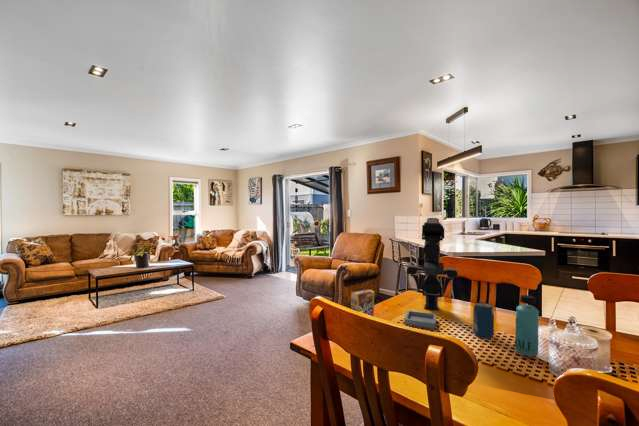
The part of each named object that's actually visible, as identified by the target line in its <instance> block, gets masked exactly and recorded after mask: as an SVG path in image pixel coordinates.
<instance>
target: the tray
mask: <svg viewBox="0 0 639 426" xmlns="http://www.w3.org/2000/svg"><path fill="white" fill-rule="evenodd" d="M436 315H437V314H436V313H431V312H424V311H416V310H415V311H414V310H408V309H407V310H406V314H405V316H404V320H403V321H404V324H403V325H404V326H408V327H415V328H422V329H428V330H434V331H435V330H436V326H437V325H436V321H437V320H436Z"/></svg>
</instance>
